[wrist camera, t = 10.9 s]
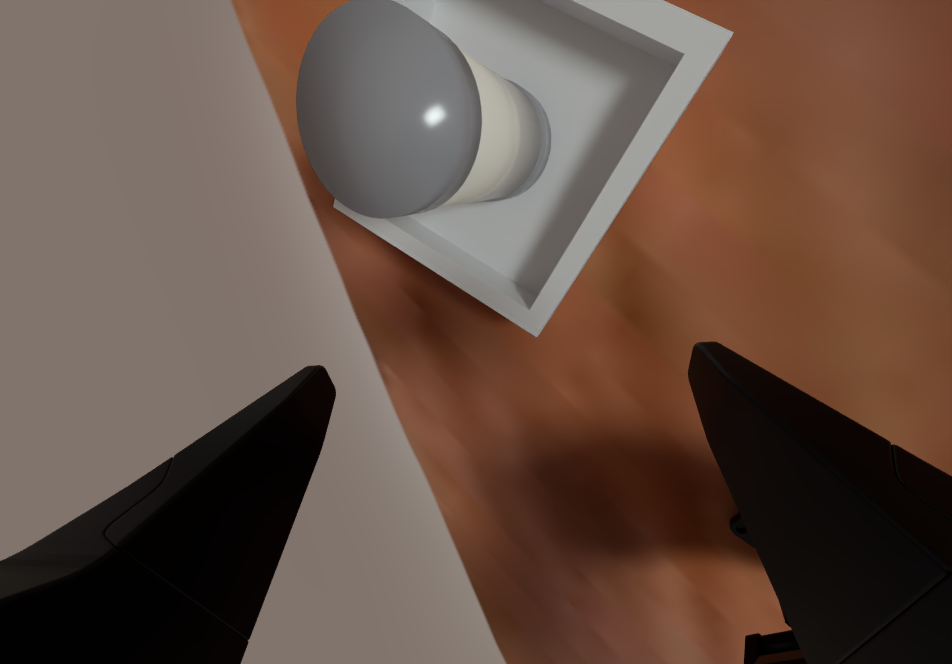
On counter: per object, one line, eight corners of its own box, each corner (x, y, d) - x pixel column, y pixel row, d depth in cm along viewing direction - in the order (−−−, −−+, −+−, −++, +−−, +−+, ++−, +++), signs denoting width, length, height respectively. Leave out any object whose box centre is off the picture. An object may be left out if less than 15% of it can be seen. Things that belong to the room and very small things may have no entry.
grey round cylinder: (555, 80, 17) (457, -21, 8) (546, 201, 19) (459, 223, 10) (452, 88, 18) (281, 12, 10) (453, 198, 20) (311, 214, 12)
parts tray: (719, 57, 15) (733, 32, 12) (550, 318, 21) (536, 337, 19) (447, -71, 17) (411, -115, 14) (367, 203, 23) (333, 206, 21)
